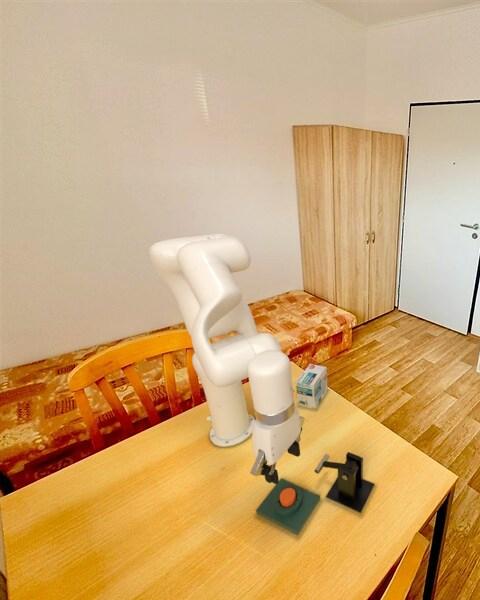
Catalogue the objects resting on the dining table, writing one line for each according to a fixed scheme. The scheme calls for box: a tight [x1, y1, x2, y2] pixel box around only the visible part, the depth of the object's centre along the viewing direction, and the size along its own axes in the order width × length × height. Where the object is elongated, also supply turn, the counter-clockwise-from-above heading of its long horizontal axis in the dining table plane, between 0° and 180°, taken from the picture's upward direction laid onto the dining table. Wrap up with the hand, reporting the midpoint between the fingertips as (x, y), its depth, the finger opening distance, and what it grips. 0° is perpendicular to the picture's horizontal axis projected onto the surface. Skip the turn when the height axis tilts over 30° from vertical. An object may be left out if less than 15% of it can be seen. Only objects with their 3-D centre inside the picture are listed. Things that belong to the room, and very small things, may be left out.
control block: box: [255, 477, 321, 536], centre depth 78 cm, size 12×9×4 cm
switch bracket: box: [325, 451, 375, 514], centre depth 81 cm, size 10×8×12 cm
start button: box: [280, 488, 296, 507], centre depth 77 cm, size 4×4×2 cm
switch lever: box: [313, 453, 359, 475], centre depth 81 cm, size 11×5×2 cm, turn 68°
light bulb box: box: [295, 363, 328, 410], centre depth 111 cm, size 11×7×11 cm, turn 168°
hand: (283, 466), depth 72 cm, fingers open, 6 cm apart
